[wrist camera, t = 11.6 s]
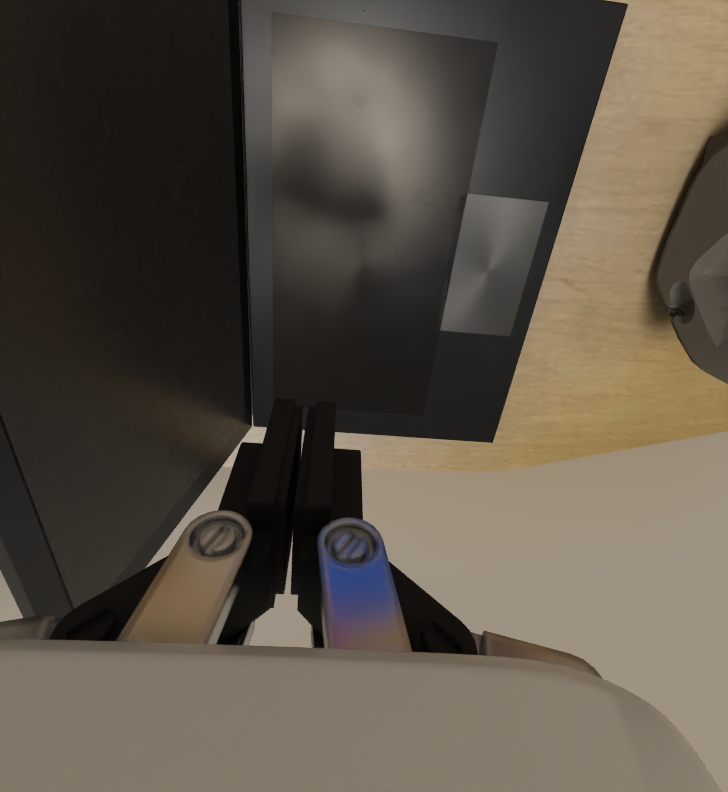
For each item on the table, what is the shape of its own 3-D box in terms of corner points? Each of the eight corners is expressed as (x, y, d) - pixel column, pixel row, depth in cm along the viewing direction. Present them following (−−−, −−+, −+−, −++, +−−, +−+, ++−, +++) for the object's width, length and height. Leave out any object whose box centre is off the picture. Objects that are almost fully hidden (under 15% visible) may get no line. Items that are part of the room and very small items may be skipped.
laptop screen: (-558, -713, 5) (-613, -702, 5) (65, 677, 21) (48, 672, 21) (238, -53, 23) (222, -54, 23) (253, 426, 38) (243, 424, 39)
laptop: (612, 10, 26) (629, 3, 24) (487, 431, 41) (493, 443, 40) (245, -42, 25) (238, -53, 23) (257, 415, 40) (253, 427, 38)
